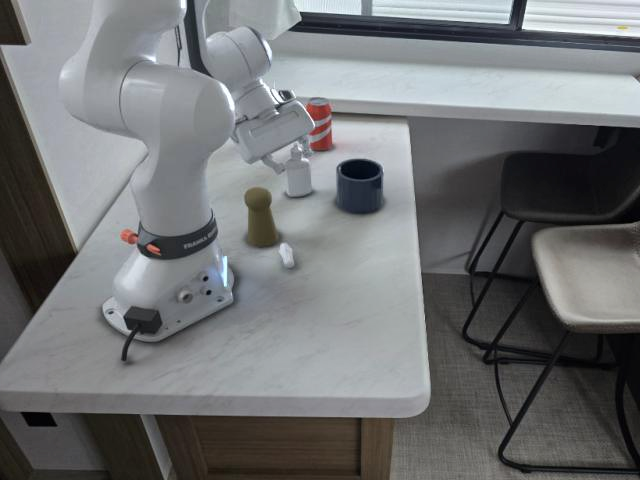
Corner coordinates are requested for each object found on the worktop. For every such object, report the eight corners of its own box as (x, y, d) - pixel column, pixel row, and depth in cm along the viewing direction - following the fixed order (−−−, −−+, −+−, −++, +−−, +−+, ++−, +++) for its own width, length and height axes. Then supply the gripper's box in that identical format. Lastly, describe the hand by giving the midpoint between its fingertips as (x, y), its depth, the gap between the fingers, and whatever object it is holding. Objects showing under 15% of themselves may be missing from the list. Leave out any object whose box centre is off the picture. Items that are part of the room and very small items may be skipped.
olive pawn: (271, 249, 110) (266, 201, 102) (243, 244, 110) (235, 196, 103) (282, 232, 114) (278, 185, 107) (255, 227, 115) (248, 180, 108)
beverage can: (304, 143, 145) (302, 97, 137) (328, 139, 147) (326, 95, 139) (312, 153, 141) (309, 107, 133) (335, 149, 143) (334, 104, 135)
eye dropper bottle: (310, 198, 125) (307, 148, 117) (285, 197, 124) (280, 147, 116) (312, 188, 128) (310, 139, 120) (288, 187, 128) (284, 138, 120)
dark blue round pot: (364, 219, 120) (365, 186, 114) (327, 203, 123) (326, 171, 118) (391, 199, 126) (392, 167, 121) (354, 185, 130) (355, 154, 125)
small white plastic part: (273, 270, 105) (272, 257, 103) (281, 251, 109) (280, 239, 107) (292, 272, 105) (291, 259, 102) (299, 253, 109) (298, 240, 107)
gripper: (228, 117, 110) (270, 176, 113) (296, 88, 123) (332, 141, 126) (216, 132, 114) (256, 189, 117) (283, 102, 128) (318, 154, 130)
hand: (296, 164), depth 122 cm, fingers open, 8 cm apart
